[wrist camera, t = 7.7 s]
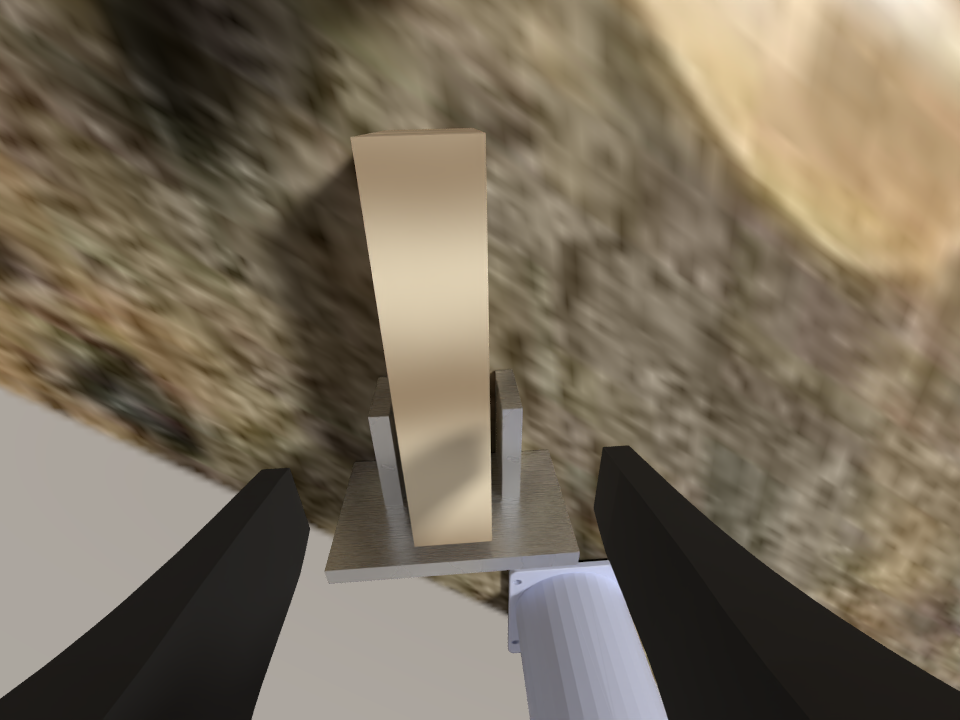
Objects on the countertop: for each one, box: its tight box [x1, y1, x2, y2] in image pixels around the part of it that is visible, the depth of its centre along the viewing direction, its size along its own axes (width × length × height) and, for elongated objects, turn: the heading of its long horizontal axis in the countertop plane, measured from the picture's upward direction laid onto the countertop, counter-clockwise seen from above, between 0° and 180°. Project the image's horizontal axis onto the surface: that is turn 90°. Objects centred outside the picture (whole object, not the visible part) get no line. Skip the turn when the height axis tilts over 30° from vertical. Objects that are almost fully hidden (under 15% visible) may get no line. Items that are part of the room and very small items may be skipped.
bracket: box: [325, 370, 580, 584], centre depth 18 cm, size 6×10×6 cm, turn 92°
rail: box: [351, 128, 492, 547], centre depth 16 cm, size 14×3×6 cm, turn 1°
